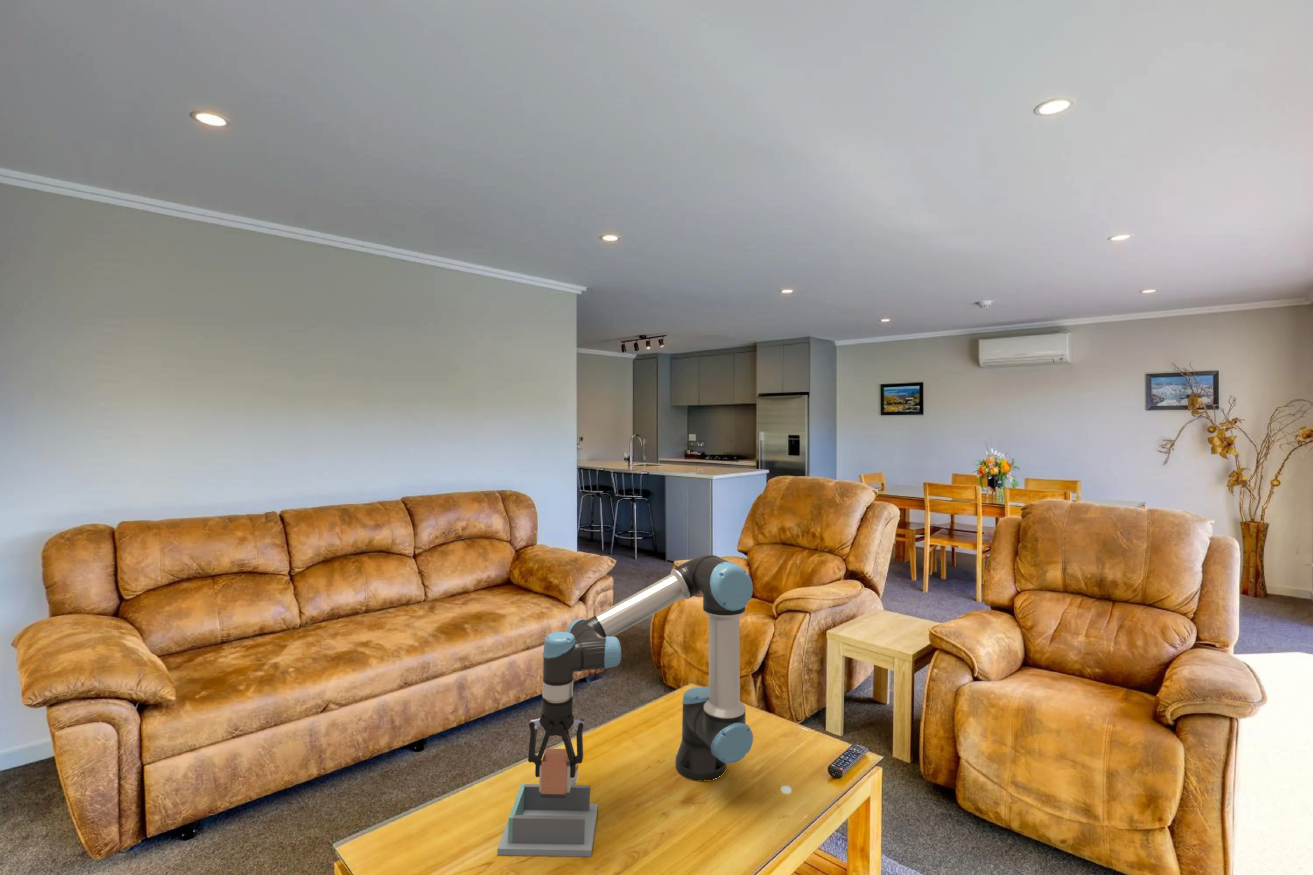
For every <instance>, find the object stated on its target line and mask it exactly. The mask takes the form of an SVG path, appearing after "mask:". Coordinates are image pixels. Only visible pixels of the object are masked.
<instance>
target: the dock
mask: <svg viewBox="0 0 1313 875" xmlns="http://www.w3.org/2000/svg"><path fill="white" fill-rule="evenodd" d="M590 802H591V785H590V784H575V785H571V787H570V792H569V793H566V798H541V792H539V783H520V786H519V789H518V791H517V794H516V797H515V800H514V802H513V804H512V807H511V811H510V814H509V815H508V818H507V822H506V824H505V827H504V830H503V833H502V835H501V838H500V840H499V843H498V846H497V851H496V852H497V856H524V857H525V856H526V857H527V856H528V857H529V856H531V857H532V856H535V857H536V856H537V857H540V856H541V857H589V858H591V857H592V855H593V854H592V853H593V846H594V838H595V832H596V824H597V817H598V810H599V808H598V806H599V804H598V803H593V802H592V803H590Z"/></svg>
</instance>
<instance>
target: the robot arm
mask: <svg viewBox="0 0 1313 875" xmlns="http://www.w3.org/2000/svg"><path fill="white" fill-rule="evenodd" d="M753 589H754V586H753V581H752V578H751V576H750V574H749V573H748V572H747V571H746V570H745V569H744V568H743V567H742V566H741V565H738V564H737V563H735V562H732V561H728V560H726V559H725V558H724V559H723V558H722V557H720V556H718V555H717V556H716V555H715V554H703V555H700V556H697V557H695V558H691V559H689V560H687V561H685V562H683V563H682V564H679V565H678V566H676V567H674V568H672V569H671V570H670V574H668V575H667V576H665V577H663V578H661V579H659V580H658V581H656V582H654V583H652V584H650V585H649V586H647V587H645V588H643V589H641V590H639V591H638V592H636V593H633V594H632V595H630V596H628V597H626V598H624V599H622V600H621V601H619V602H617V603H615V604H614V605H612V606H610V607H608V608H607V609H604V610H603V611H601V612H598V613H597V614H595V615H594V616H592V617H590V618H588V619H585V618H577V619H574V620H573V621H572V622H571V623H570V624H569V626H568V627H567V630H566V631H553V632H550V633H549V634H547V635H546V637H545V639H544V641H543V653H542V658H543V663H542V665H543V666H542V667H543V668H542V670H543V671H542V672H543V673H542V688H541V689H542V690H541V691H542V694H541V695H542V698H541V702H542V704H541V716H540V717H539V718H534V717H532V718H531V719H530V721H529V724H528V727H529V731H530V733H529V734H530V736H529V744H528V745H529V747H528V758H527V761H528V763H533V764H535V769H534V771H535V772H534V773H535V774H534V775H535V777H536V778H539V779H538V780H539V781H538V782H539V783H538V784H539V792H541V773H542V759H543V756H544V753H545V750H546V749H547V748H546V747H547V745H548V742H549V739H550V737H552V736H553V737H554V736H557V737H561V740H562V741H563V744H564V747H565V748H564V749H566V752H567V755H568V759H569V761H568V765H567V786H566V793H569V792H570V787H571V778H574V776H575V772H576V764H577V763H578V764H582V762H583V759H584V738H583V729H584V725H585V719H582V718H581V719H580V720H578V719H577V718H576V719H575V716H574V715H573V707H574V706H573V704H574V700H573V694H574V673H576V672H577V673H579V672H586V671H595V670H607V669H609V668H615V667H618V666H619V665H620V663H621V660H622V648H621V647H622V646H621V643H620V640H619V638H617V637H616V636H617V635H619V634H621V633H622V632H624V631H626V630H628V629H630V628H631V627H633V626H635V625H637V624H639V623H640V622H642V621H645V620H646V619H647V618H649V617H651V616H653V615H655V614H657V613H659V612H660V611H662V610H663V609H665V608H668V607H669V606H671V605H673V604H674V603H676V602H678V601H679V600H682V599H685V600H689V599H691V598H693V597H695V596H699V595H702V611H703V613H705V615H707V616H708V686H696V687H692V688H689V689H687V690H686V691H685V692H684V693H683V697H682V703H681V705H682V716H681V717H682V722H681V723H682V724H681V725H682V727H681V732H682V733H681V741H680V745H679V747H678V750H677V753H676V755H675V769H676V771H677V772H678V774H679V775H681V776H683V777H684V778H686V779H689V780H691V781H696V780H701V781H700V782H705V781H704V780H711V781H714V780H713V779H715V778H718V777H719V776H721V775H722V774H723V773H724V772H725V770H726V771H727V764H735V763H738V762H740V761H741V760H743V759H744V758H745V757H746V755H747V754H748V753H749V752H750V750H751V748H752V747H753V741H754V735H753V731H752V729H751V728H750V725H748V724H746V723H747V722H746V705H744V704H743V702H742V701H741V677H740V676H741V656H740V655H741V653H740V652H741V650H740V649H741V648H740V645H741V643H740V640H741V634H740V629H741V624H740V623H741V622H740V621H741V617H742V615H743V614H745V612H746V606H747V605H748V604H749V601H751V599H752V596H753V592H754V590H753ZM540 725H541V727H542V728H543V729H544V731H545V733H544V736H543V739H542V742H541V744H540V747H539V751H538V753H537V754H536V745H537V744H536V743H537V736H538V728H539V727H540ZM572 726H574V730H576V734H575V735H576V752H575V749H574V747H573V743H572V739H571V735H570V731H569V730H570V729H571V727H572ZM725 773H726V772H725ZM718 779H719V778H718ZM715 780H716V779H715Z"/></svg>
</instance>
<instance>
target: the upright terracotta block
mask: <svg viewBox="0 0 1313 875" xmlns="http://www.w3.org/2000/svg"><path fill="white" fill-rule="evenodd" d="M541 761H542V773H541V798H566V786H567V765H568V761H569V759H568V755H567V752H566V748H545V751H544V754H543V756H542V759H541Z"/></svg>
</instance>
